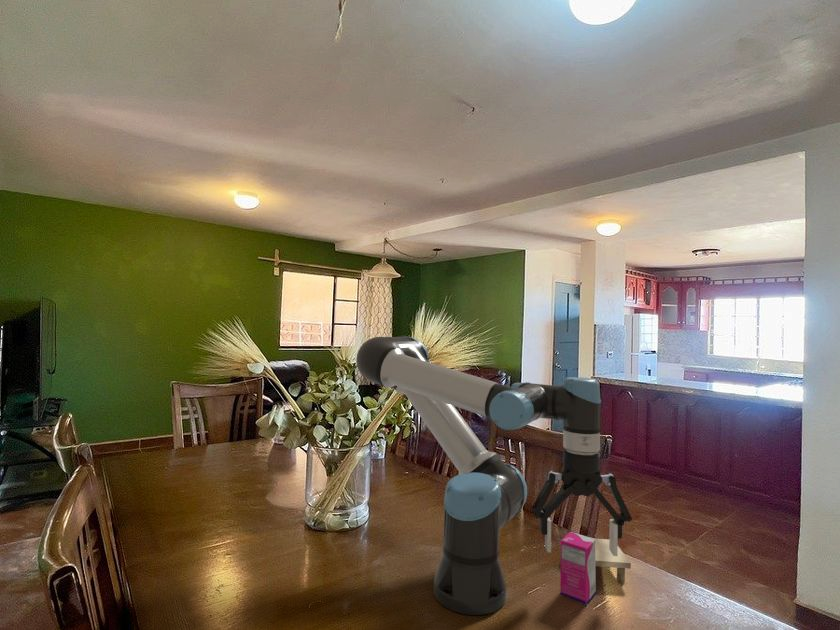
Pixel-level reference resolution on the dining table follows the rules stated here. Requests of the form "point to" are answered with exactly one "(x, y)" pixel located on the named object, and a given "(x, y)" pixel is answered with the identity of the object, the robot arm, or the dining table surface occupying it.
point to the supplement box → (578, 567)
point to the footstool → (611, 559)
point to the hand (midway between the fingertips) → (580, 551)
